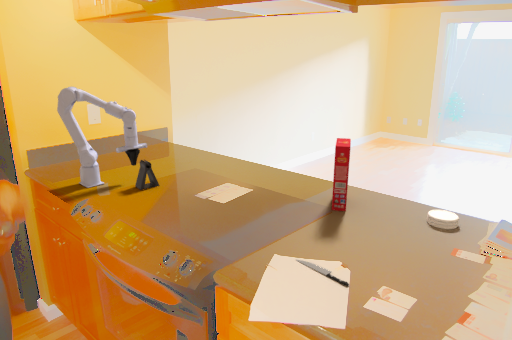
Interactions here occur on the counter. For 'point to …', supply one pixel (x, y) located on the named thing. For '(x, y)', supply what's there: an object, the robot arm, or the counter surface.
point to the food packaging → (341, 174)
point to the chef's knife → (323, 271)
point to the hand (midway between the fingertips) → (133, 165)
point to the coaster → (443, 219)
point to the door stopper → (143, 171)
